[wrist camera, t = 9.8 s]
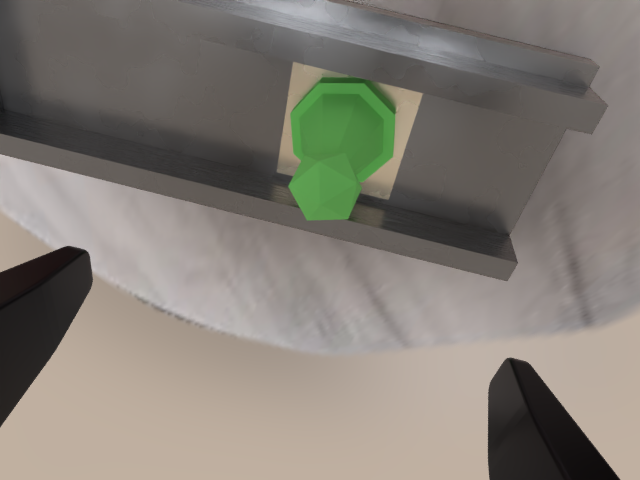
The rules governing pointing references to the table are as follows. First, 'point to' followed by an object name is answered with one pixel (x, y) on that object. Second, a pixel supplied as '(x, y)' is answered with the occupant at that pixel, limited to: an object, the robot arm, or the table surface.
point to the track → (278, 102)
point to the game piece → (339, 144)
